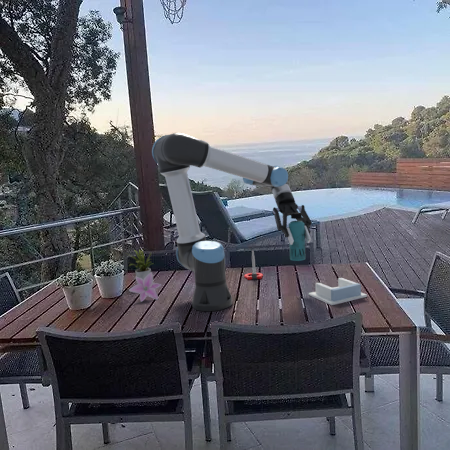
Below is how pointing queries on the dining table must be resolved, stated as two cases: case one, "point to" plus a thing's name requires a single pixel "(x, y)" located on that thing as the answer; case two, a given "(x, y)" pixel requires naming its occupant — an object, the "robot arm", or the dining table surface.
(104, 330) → the dining table surface
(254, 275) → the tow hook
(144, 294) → the lily
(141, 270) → the house plant
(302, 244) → the beverage bottle
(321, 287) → the stop cradle
